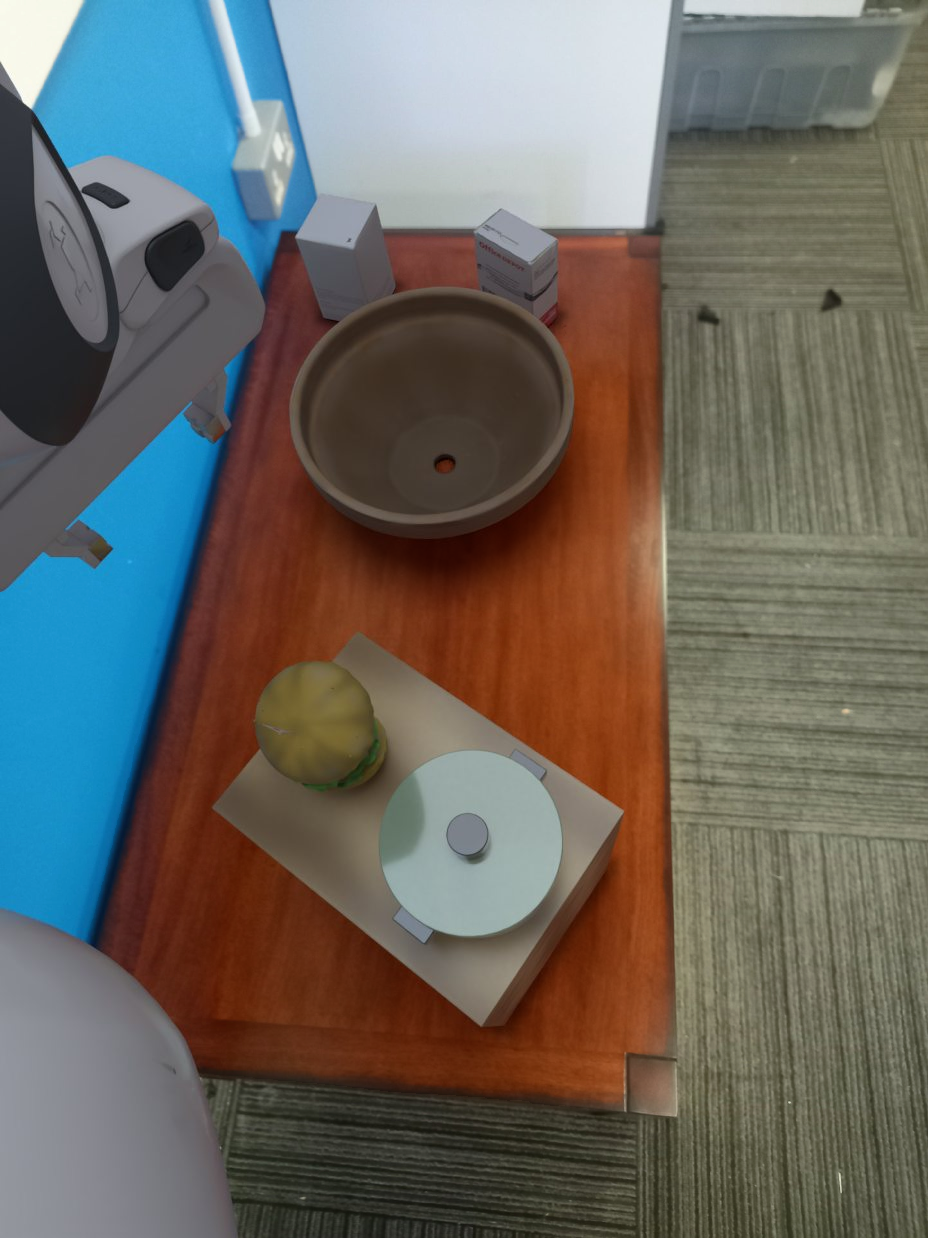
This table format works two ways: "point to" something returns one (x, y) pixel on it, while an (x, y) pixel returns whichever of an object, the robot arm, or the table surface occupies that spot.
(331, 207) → the white packaging box
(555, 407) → the flower pot
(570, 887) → the stand
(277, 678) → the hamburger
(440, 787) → the pot
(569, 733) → the table surface
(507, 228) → the ink box
